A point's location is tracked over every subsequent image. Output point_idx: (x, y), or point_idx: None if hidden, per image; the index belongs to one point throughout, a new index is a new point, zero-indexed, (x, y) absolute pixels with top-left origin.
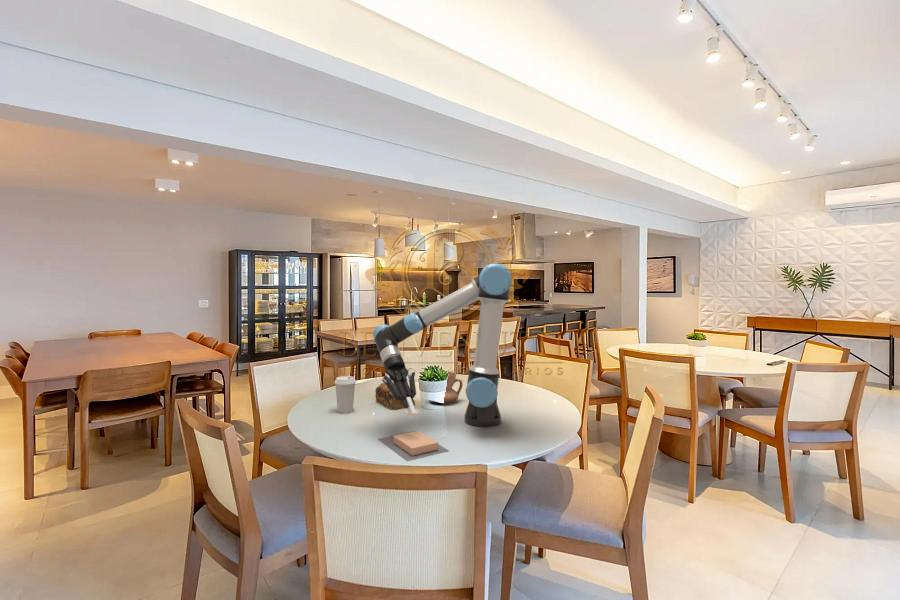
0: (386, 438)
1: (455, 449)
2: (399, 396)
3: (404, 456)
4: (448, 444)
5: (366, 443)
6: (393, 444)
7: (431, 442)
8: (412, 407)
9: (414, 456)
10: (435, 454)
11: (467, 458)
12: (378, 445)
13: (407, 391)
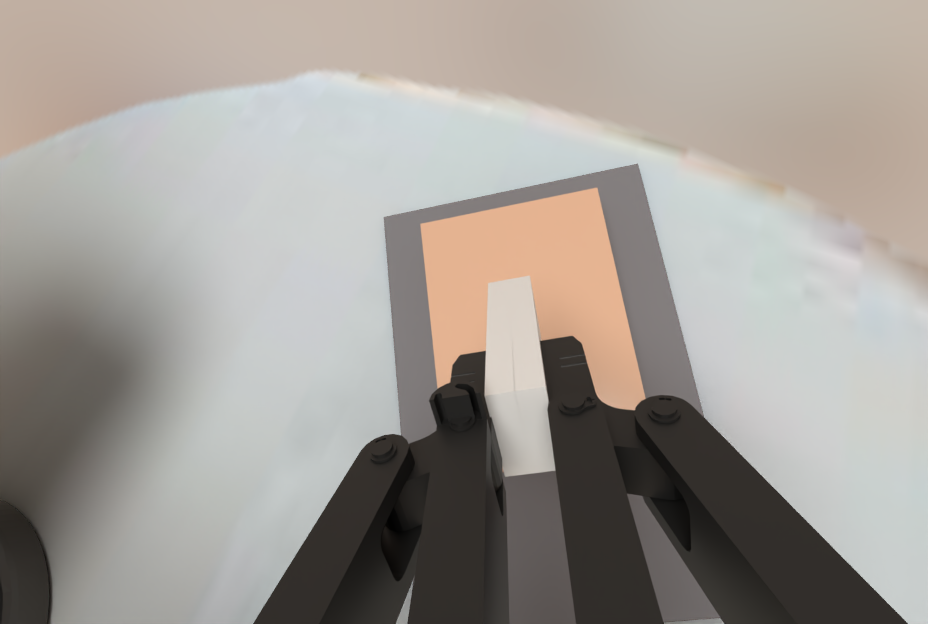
0: (677, 584)
1: (343, 244)
2: (661, 395)
3: (635, 224)
4: (339, 322)
5: None
6: None
7: (456, 236)
8: (508, 310)
9: None
10: (468, 199)
11: (351, 131)
12: None
13: (488, 489)
